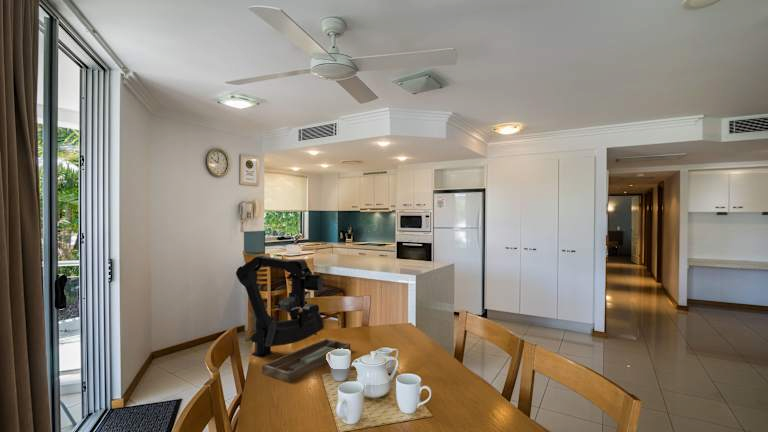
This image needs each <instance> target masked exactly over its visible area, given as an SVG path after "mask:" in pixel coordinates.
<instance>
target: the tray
mask: <svg viewBox="0 0 768 432" xmlns="http://www.w3.org/2000/svg"><path fill="white" fill-rule="evenodd" d="M324 347H331V348H335V350H337V348H339V349H341V348H343V349H349V350H350V351H351V343H349V342H348V343H347V342H343V341H339V340H334V339H330V338H327V337H326V338H324V339H321V340H318V341H317V342H314V343H312V344H310V345H307V346H304V347H302V348H300V349H298V350H295V351H292V352H291V353H288V354H286V355H283V356H281V357H279V358H278V357H277V359H276V358H275V359H274V360H271V361H269V362H267V363H265V364H262V365H261V369H262V370H261V374H263V375H265V376H269V377H271V378H273V379H276V380H280V381H283V382H286V383H290V382H293V381H294V380H296V379H298V378H300V377H302V376H304V375H306V374H308V373H310V372H312V371H314V370H316V369H318V368H320V367H321V366H324V365H325V364H328V363H327V360H326V355H325V356H322V357H320V358H318V359H316V360H314V361H312V362H310V363H308V364H306V365H304V366H302V367H300V368H298V369H296V370H293V371H291V372H287V371H289V367H291V366H293V365H295V364H297V363H299V362H300V359H301V358H303V357H305V356H307V355H309V354H311V353H313V352H315V351H317V350H319V349H321V348H324Z"/></svg>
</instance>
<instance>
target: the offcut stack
mask: <svg viewBox="0 0 768 432" xmlns="http://www.w3.org/2000/svg"><path fill="white" fill-rule="evenodd" d="M334 349H335V350H336V348H331V347H324V348H321V349H319V350H317V351H315V352H313V353H311V354H309V355H307V356H305V357H303V358H301V359H300V362H299V363H297V364H295V365H293V366H291V367H289V371H287V372H291V371H293V370H296V369H298V368H300V367H302V366H304V365H306V364H308V363H310V362H312V361H314V360H316V359H318V358H320V357H322V356H325V355H326V354H327V353H328V352H330V351H332V350H334Z"/></svg>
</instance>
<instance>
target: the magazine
mask: <svg viewBox="0 0 768 432" xmlns="http://www.w3.org/2000/svg"><path fill="white" fill-rule="evenodd" d="M323 328H324V321H323V317H322V316H321V314H320V310H319V311H318V312H315V313H312V314H309V315H308V316H307V318H306V320H305V322H304V325H303V327H302V328H300V325H299V317H298V318H296V319H292V320H291V319H289V320H288V319H287V320H282V321H281V320H279V321H277V320H276V319H275V320H273V321H272V324H271V325H270V327H269V330H268V334H267V338H266V342H265V346H267V347H271V348H272V347H279V346H285V345H290V344H294V343H298V342H301V341H303V340H305V339H308V338H310V337H311V336H313V335H315V336H317V333H318V332H320V331H321V330H323Z"/></svg>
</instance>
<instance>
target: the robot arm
mask: <svg viewBox="0 0 768 432" xmlns="http://www.w3.org/2000/svg"><path fill="white" fill-rule="evenodd" d="M262 267H267V268H268V267H269V268H274V269H280V270H284V271H285V272H287V273H289V274H288V276H286V279H287V280H291V284H290V285H291V288H290V290H291V291H290V292H288V296H287V297H286V298H284V299H282V300H279V301H278V303H277V309H280V310H281V311H285V312H286V313H288V315H289V317H290V320H292V319H296V318H299V325H300V328H302V327H303V325H304V322H305V320H306V318H307V316H308V315H309V314H312V313H315V312H318V311H319V312H320V306H319V305H318V304H316V303H308V301H307V300H306V295H307V294H308V291H314V292H321V291H323V288H324V280H323V279H324V278H322V274H320V273H318V274H317V273H316V274H313V272H312V271H311V269H310V268H309V266H308V263H307V261H306V259H303V258H299V259H298V258H297V259H296V258H294V259H283V258H277V257H273V256H272V257H271V256H267V255H266V256H265V255H257V256H254V258H252V259H251V260H250V261H248V262H246V263H245V264H244V265H242V266H238V268H237V269H236V271H235V275H236V278H237V280H238V281H239V283H240V284H241V285H242V286H244V288H245V290H246V293H247V295H248V299H249V302H250V305H251V308H252V310H253V313H254V316H255V330H256V332H254V334H253V335H251V337H250V340H251V342H252V343H254V352H252V353H251V355H252V356H255V357H258V358H263V357H266V356H268V355H271V354H273V353H274V350H273V351H272V350H271V349H272V346H271V347H267V346H265V342H266V338H267V334H268V330H269V327H270V325H271V324H272V321H273V320H275V321H276V319H275V316H274V315H272V316H270V315H269V314H268V311H267V309H266V305H265V302H264V300H263V297H262V293H261V291H260V288H259V285H258V272H259V270H261V268H262Z"/></svg>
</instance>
